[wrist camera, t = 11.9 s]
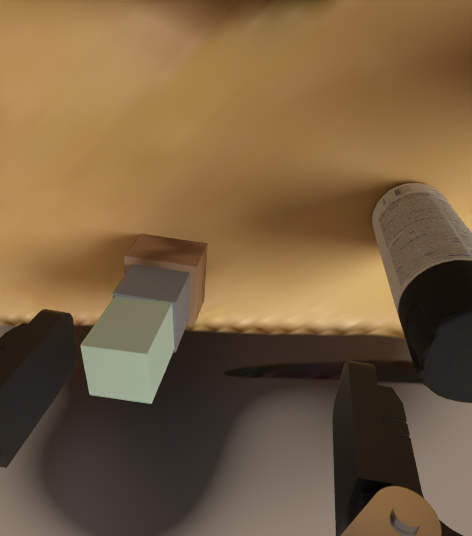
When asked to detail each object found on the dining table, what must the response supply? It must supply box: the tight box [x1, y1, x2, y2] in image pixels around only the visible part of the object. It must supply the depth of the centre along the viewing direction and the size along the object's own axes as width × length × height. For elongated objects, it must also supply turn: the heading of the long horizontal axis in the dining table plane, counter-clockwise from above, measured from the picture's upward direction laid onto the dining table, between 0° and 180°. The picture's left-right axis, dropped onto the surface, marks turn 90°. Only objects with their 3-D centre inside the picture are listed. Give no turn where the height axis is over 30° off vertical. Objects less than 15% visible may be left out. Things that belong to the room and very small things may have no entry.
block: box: [81, 296, 174, 404], centre depth 35 cm, size 5×5×6 cm
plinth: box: [124, 234, 207, 326], centre depth 45 cm, size 7×7×5 cm
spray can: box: [372, 183, 472, 403], centre depth 32 cm, size 7×7×20 cm
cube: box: [113, 264, 190, 352], centre depth 40 cm, size 6×6×5 cm
